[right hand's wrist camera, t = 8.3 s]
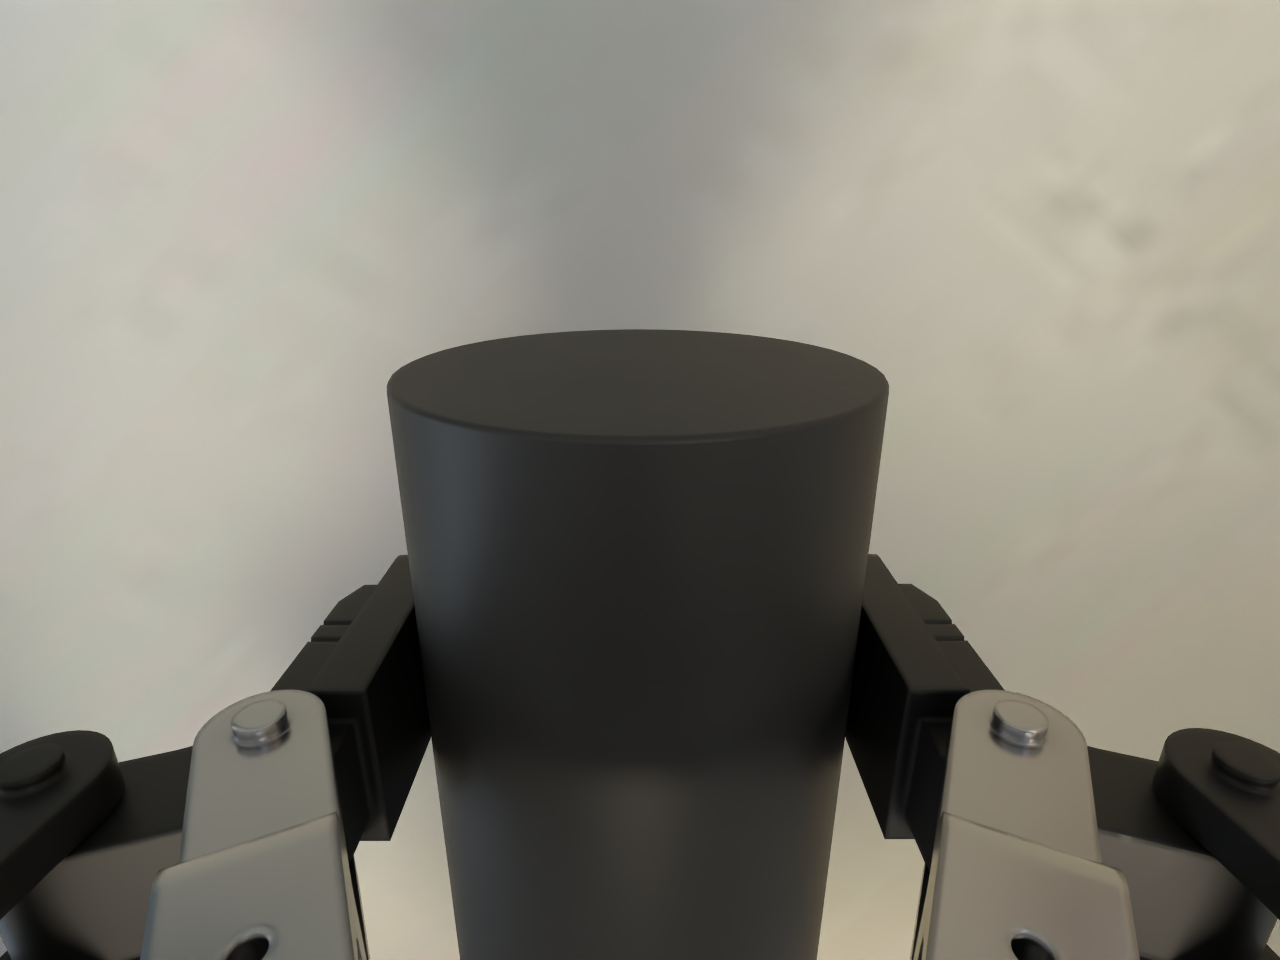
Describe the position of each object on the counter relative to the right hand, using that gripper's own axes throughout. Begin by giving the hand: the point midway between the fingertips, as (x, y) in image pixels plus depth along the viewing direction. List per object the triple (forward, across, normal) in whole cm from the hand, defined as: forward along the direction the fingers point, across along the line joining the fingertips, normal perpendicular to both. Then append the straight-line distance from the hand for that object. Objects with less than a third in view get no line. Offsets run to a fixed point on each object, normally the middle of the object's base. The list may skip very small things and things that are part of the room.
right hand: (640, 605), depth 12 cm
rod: (+2, 0, -10) cm, 10 cm away
